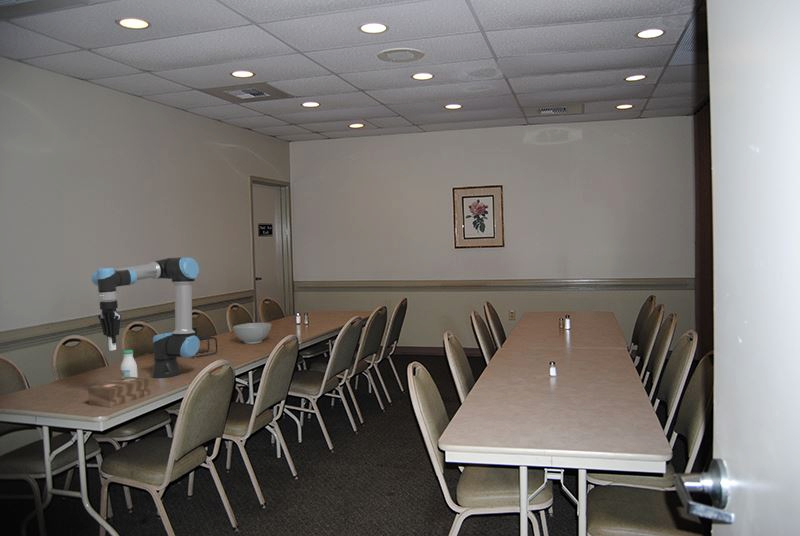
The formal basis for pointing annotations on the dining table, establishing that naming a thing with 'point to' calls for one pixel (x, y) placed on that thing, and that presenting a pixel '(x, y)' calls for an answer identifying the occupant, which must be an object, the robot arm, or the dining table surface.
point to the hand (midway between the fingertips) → (112, 350)
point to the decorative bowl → (252, 332)
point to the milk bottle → (128, 365)
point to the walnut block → (118, 392)
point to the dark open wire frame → (204, 339)
